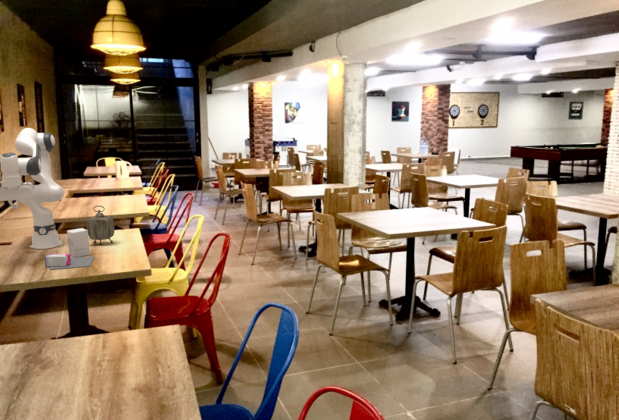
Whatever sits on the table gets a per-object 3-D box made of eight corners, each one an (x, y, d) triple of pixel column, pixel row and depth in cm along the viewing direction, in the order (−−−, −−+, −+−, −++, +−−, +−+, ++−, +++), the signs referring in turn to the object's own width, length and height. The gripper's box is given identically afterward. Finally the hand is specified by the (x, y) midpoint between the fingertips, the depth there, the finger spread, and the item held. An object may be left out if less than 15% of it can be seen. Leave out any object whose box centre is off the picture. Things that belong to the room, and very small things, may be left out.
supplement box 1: (45, 266, 278) (65, 266, 277) (44, 256, 277) (64, 256, 276) (51, 263, 284) (71, 263, 283) (50, 253, 283) (70, 253, 282)
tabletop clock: (115, 242, 332) (112, 204, 327) (110, 245, 323) (107, 206, 318) (93, 242, 332) (89, 204, 327) (87, 246, 323) (83, 207, 318)
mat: (56, 260, 292) (56, 259, 292) (94, 257, 298) (94, 256, 298) (49, 270, 273) (49, 269, 273) (90, 266, 279) (90, 265, 279)
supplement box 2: (84, 252, 309) (82, 227, 306) (90, 254, 303) (88, 230, 300) (68, 255, 303) (66, 230, 300) (74, 257, 297) (72, 232, 294)
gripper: (34, 181, 285) (37, 206, 287) (-7, 183, 279) (-4, 208, 282) (31, 182, 279) (34, 208, 281) (-11, 184, 273) (-8, 210, 276)
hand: (15, 208), depth 282 cm, fingers closed
